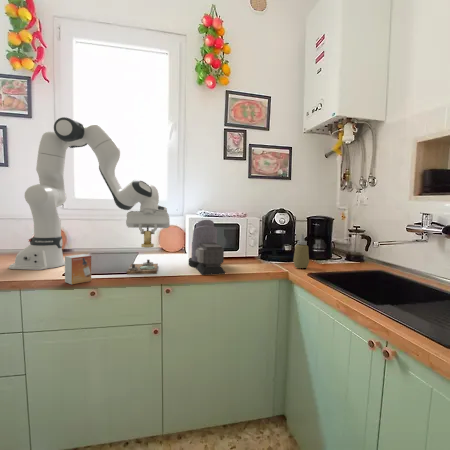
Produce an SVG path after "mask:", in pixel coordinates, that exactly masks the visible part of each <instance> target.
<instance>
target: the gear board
mask: <svg viewBox="0 0 450 450" xmlns="http://www.w3.org/2000/svg"><path fill="white" fill-rule="evenodd" d="M158 267H159V265H158V263H154V261H153V262H152V261H150V259H146V261H144V262H143V263H130V264H129V267H128V269H127V270H126V275H142V274H144V275H145V274H146V275H148V274H150V275H151V274H157V272H158Z"/></svg>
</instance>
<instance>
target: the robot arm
mask: <svg viewBox="0 0 450 450" xmlns="http://www.w3.org/2000/svg"><path fill="white" fill-rule="evenodd" d="M87 145H88V147H90V148H91V150H92V151H93V153H94V154H95V156H96V159H97V162H98V169H99V170H98V171H99V172H100V175H101V177H102V178H103V180H104V183H105V184H106V186H107V188H108V190H109V191H110V193H111V196H112V197H113V198H112V199H113V200H114V204H115V205H116V207H118V208H119V209H121V210H125V211H128V212H127V213H126V220H125V223H126V224H125V226H126V227H127V228H133V229H134V228H135V229H136V228H138V229H139V231H140V235H144V231H145V229H147V225H148V226H149V229H151V230H150V231H151V235H155V232H156V231H157V229H168V228H169V227H170V224H171V223H170V222H171V221H170V215H169V213H168V208H167V207H166V206H161V205H159V203H160V199H159V198H160V196H159V192H158V188H157V187H156V186H154V185H152V184H148V183H146V181H143V180H140V179H134V180H132V181H131V182H130V183H128V184H127V185H126V186H125V187H124V188H122V186H121V184H120V183H119V181H118V178H117V176H116V172H115V170H116V167H117V164H118V162H119V161H120V158H121V150H120V148H119V146H118V144H117V142H116V141H115V139H114V138H113V137H112V136H111V134H109V132H108V131H107V130H106V129H105V128H104V127H103V126H102V125H101V124H99V123H92V124H89V125H87V126H84V124H82V123H81V122H79V121H77V120H75V119H73V118H71V117H65V116H64V117H60V118H58V119H56V120H55V122H54V124H53V131H47V132H46V131H45V132H44V133H43V134H42V136H41V137H40V141H39V145H38V151H37V159H36V160H37V161H36V168H35V170H36V173H37V175H38V181H39V183H38V184H33V185H31V186H29V187H28V188H27V189H26V190H25V191H24V199H25V201H26V203H27V205H28V206H29V209H30V211H31V215H32V220H33V235H34V236H33V237H31V238H29V239H27V241H28V243H29V245H28V246H26V247H25V248H23V249H22V250H20V251H19V252H18V253H17V254H16V256H15V259H14V263H11V264H10V265H9V266H8V269H9V270H31V271H33V270H34V271H35V270H36V271H37V270H38V271H40V270H46V269H53V268H58V267H59V268H60V267H62V266H65V257H64V255H63V236H62V219H61V218H60V216H59V213H58V209H57V207H58V208H59V207H60V206H63V204H64V203H65V202H66V201H67V193H66V191H65V180H64V179H65V178H64V171H65V161H66V153H67V149H68V148H69V149H74V148H82V147H85V146H87ZM138 203H140V209H139V210H134V211H133V210H131V209H132V208H134V206H136V205H137V204H138Z"/></svg>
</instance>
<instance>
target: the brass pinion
mask: <svg viewBox="0 0 450 450" xmlns="http://www.w3.org/2000/svg"><path fill="white" fill-rule="evenodd" d="M149 229H150V228H149V226H148V225H147V228H146V230H144V234H143V243H141V245H140V247H141V248H143V249H144V248H146V249H147V248H154V246H155V244H154V243H152V234H151V230H149Z"/></svg>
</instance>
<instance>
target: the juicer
mask: <svg viewBox="0 0 450 450" xmlns="http://www.w3.org/2000/svg"><path fill="white" fill-rule="evenodd" d="M224 252H225V249H224V248H223V246H222V245H220V244H218V228H217V227H216V226H215V223H214V221H213V220H211V219H203V220H199V221H198V222H197V223H196V224H195V228H193V232H192V241H191V257H190V258H188V266H189V267H191V268H195V269H196V270H197V271H198V273H199V274H200V275H201V276H208V275H209V276H213V275H226V274H225V273H226V271H225V270H224V269H223V268H222V264H223V263H224V255H225V254H224Z"/></svg>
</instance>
